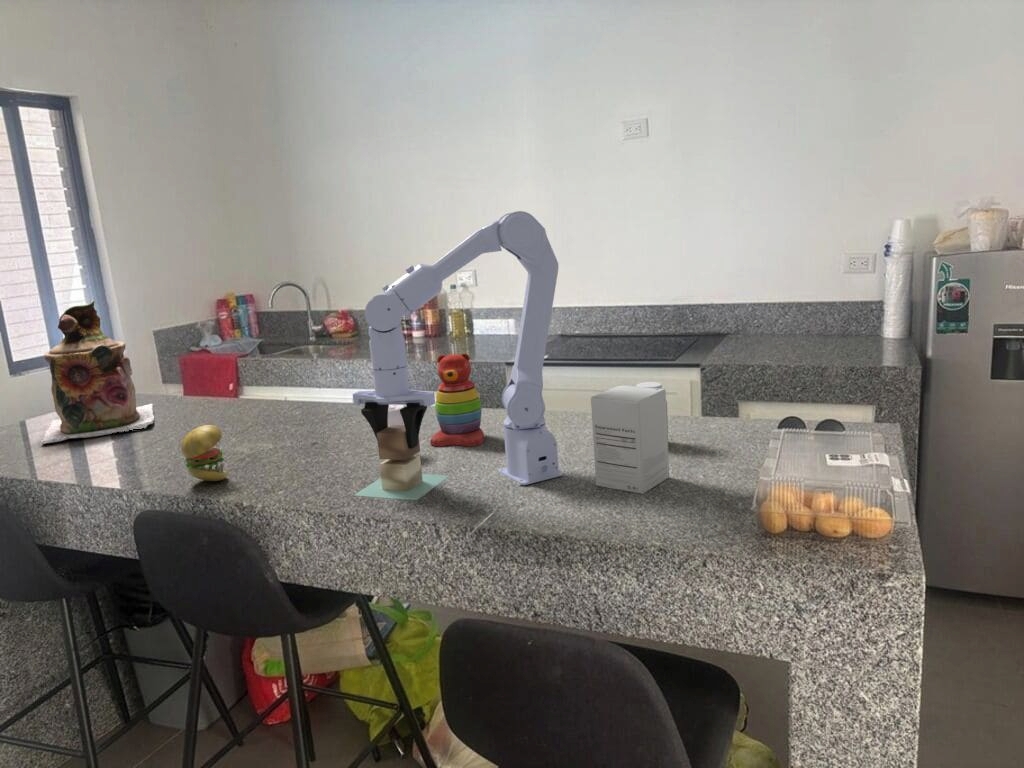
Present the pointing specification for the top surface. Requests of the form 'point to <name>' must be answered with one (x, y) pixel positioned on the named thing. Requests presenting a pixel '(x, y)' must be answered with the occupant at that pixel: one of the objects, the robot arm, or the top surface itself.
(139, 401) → the top surface
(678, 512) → the top surface
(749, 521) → the top surface
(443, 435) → the stacking bear
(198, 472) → the hamburger
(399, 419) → the smoothie
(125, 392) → the cookie jar
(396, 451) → the walnut block
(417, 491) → the mat
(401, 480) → the maple block
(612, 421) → the supplement box
